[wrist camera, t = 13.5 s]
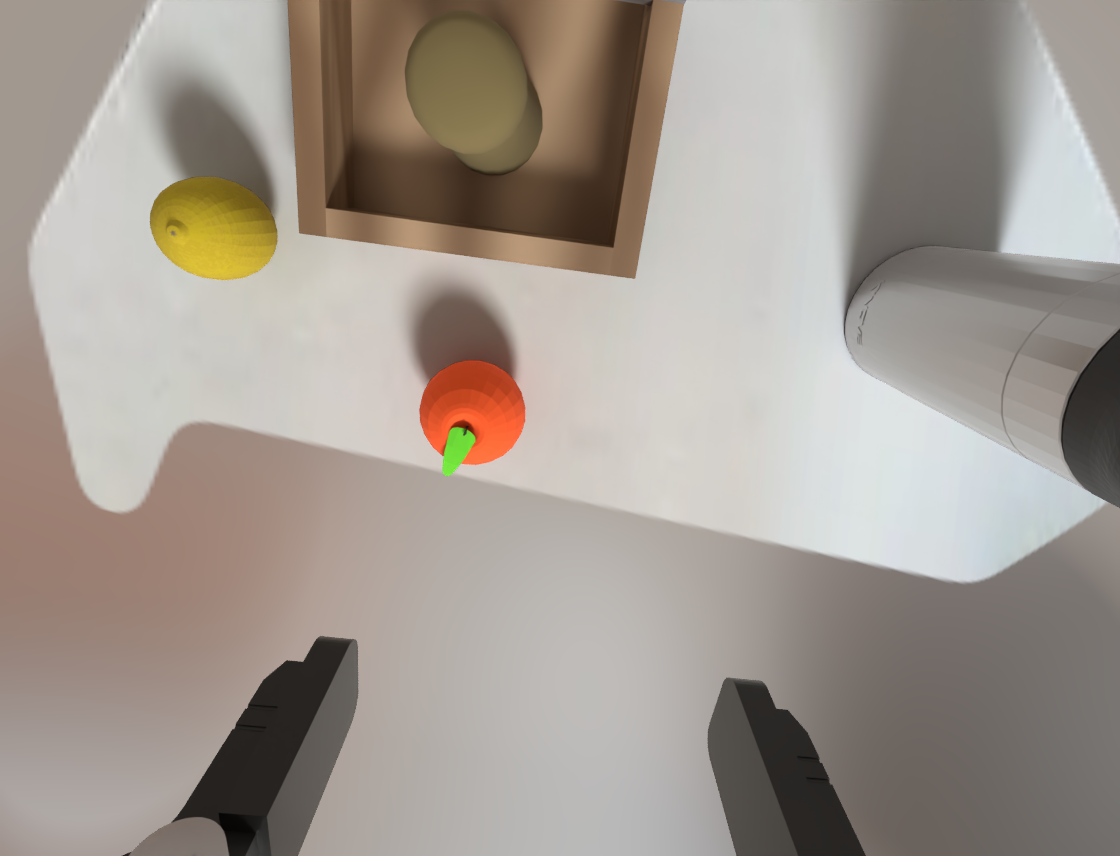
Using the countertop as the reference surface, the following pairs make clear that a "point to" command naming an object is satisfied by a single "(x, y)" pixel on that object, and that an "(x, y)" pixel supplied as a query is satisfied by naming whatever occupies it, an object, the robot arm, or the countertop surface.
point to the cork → (473, 92)
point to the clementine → (471, 413)
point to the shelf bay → (434, 171)
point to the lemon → (213, 228)
